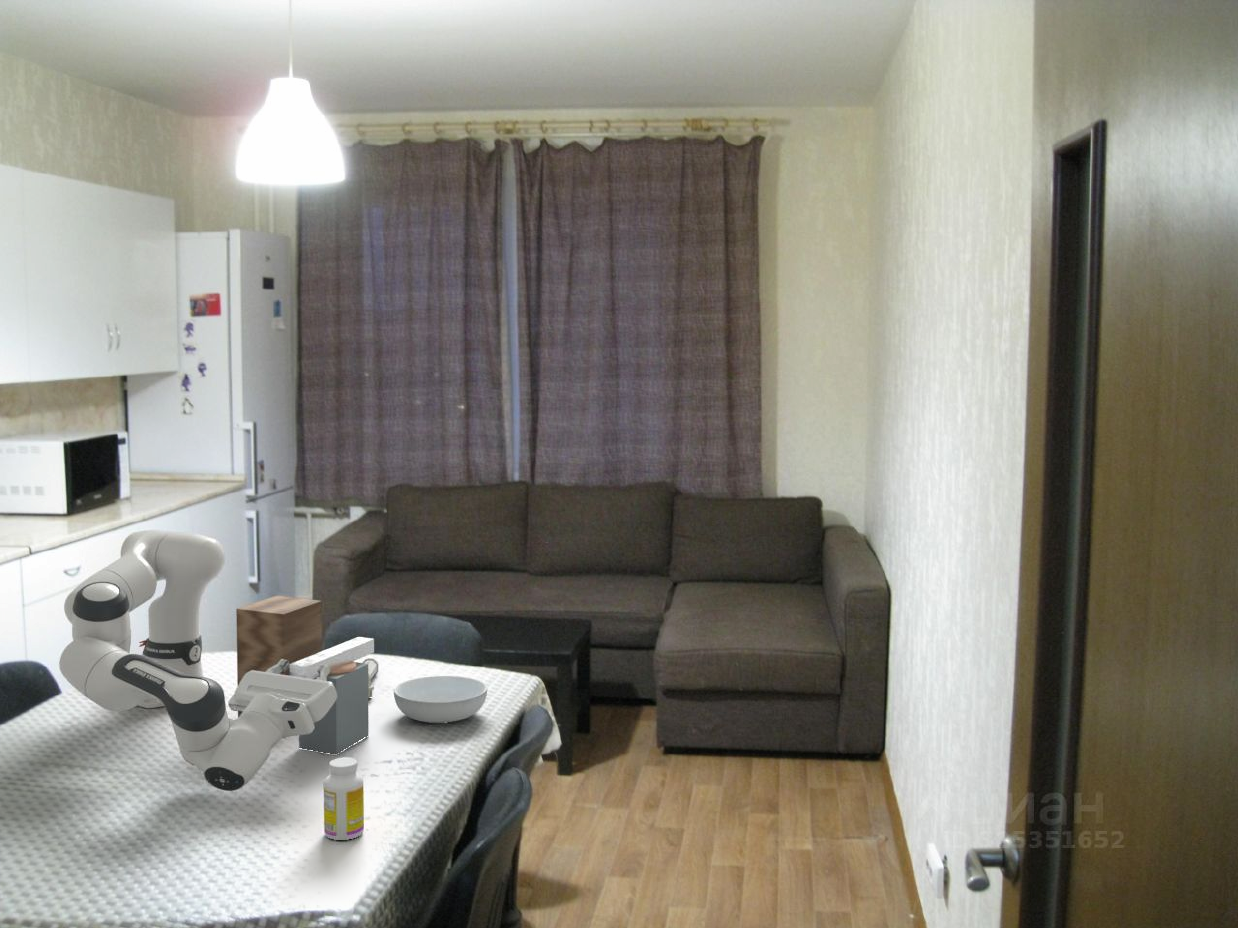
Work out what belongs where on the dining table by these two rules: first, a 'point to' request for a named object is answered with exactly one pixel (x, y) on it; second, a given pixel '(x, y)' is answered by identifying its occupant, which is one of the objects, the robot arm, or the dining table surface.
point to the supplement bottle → (343, 800)
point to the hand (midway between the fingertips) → (306, 664)
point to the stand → (277, 633)
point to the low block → (342, 712)
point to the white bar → (333, 657)
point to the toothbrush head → (371, 673)
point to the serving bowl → (440, 698)
